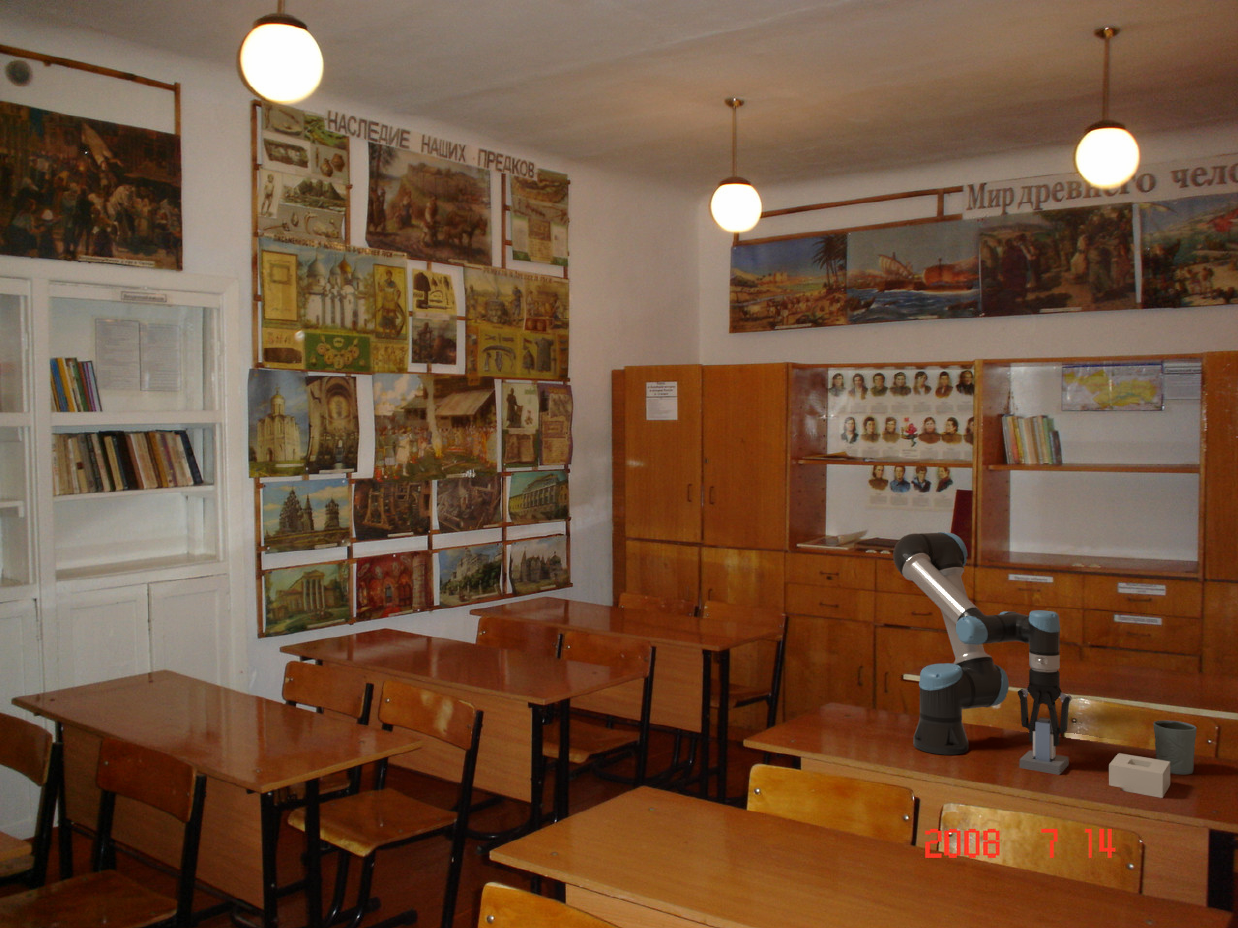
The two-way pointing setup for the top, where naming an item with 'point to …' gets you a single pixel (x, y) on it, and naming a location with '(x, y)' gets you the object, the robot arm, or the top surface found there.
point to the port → (1140, 775)
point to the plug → (1043, 739)
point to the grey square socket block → (1044, 763)
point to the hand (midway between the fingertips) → (1044, 755)
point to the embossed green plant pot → (1175, 745)
